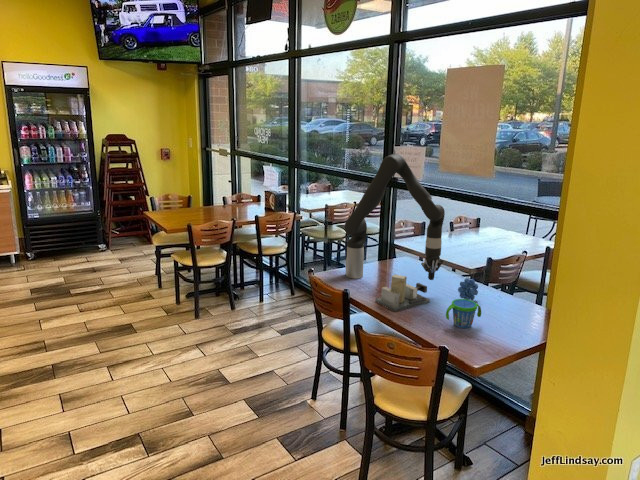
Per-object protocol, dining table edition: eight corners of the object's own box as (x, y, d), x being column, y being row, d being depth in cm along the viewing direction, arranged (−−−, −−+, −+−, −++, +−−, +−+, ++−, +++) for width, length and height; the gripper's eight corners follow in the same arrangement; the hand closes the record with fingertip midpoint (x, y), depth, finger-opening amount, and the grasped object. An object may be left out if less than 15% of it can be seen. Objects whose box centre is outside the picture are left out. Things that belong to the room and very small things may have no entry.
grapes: (462, 305, 228) (464, 282, 225) (454, 300, 235) (456, 277, 231) (482, 302, 232) (485, 279, 229) (473, 297, 239) (476, 274, 235)
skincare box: (389, 300, 230) (391, 276, 226) (392, 297, 233) (394, 273, 230) (402, 303, 227) (403, 278, 224) (405, 300, 230) (406, 276, 227)
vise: (375, 301, 232) (376, 286, 230) (409, 293, 244) (410, 279, 242) (394, 311, 221) (395, 296, 219) (429, 302, 232) (430, 287, 230)
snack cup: (449, 331, 202) (451, 308, 199) (440, 320, 212) (442, 299, 209) (485, 330, 203) (487, 307, 201) (474, 319, 214) (477, 298, 211)
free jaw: (398, 294, 237) (399, 283, 235) (415, 290, 242) (416, 279, 241) (412, 301, 228) (413, 289, 227) (429, 296, 234) (430, 285, 233)
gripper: (428, 249, 228) (426, 284, 233) (448, 245, 235) (446, 279, 239) (417, 246, 234) (415, 279, 239) (437, 242, 241) (435, 275, 245)
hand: (431, 279), depth 239 cm, fingers closed
